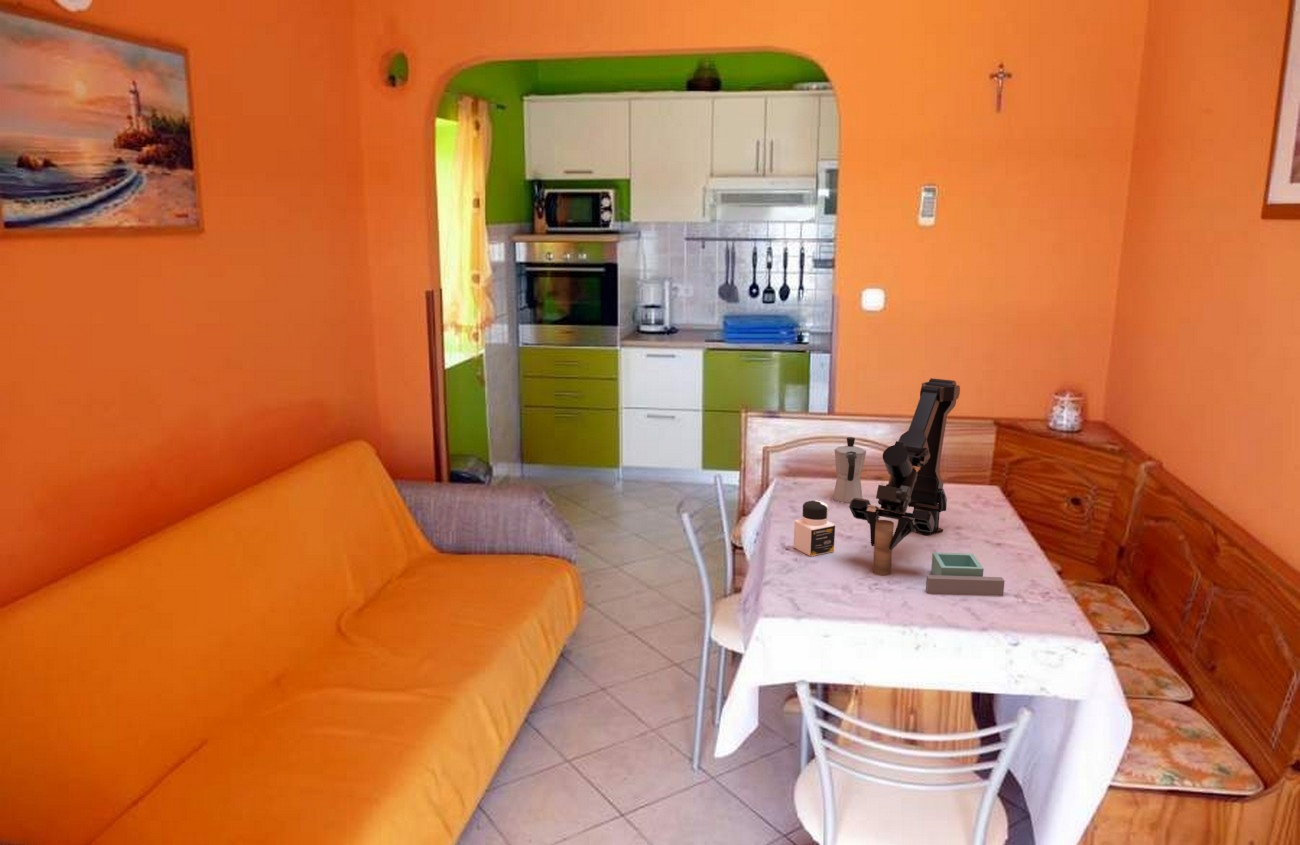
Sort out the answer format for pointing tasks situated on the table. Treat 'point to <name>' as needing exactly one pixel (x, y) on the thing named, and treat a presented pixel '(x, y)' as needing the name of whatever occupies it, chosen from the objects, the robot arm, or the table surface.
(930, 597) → the table surface
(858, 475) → the coffee maker
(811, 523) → the medicine bottle
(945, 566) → the socket block
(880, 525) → the dowel
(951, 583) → the backstop wall
